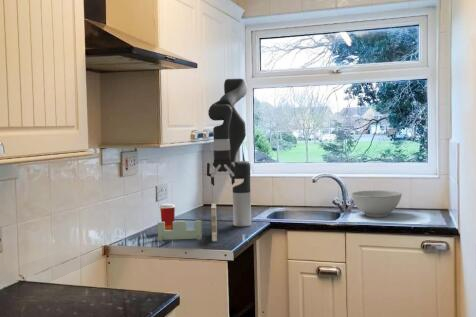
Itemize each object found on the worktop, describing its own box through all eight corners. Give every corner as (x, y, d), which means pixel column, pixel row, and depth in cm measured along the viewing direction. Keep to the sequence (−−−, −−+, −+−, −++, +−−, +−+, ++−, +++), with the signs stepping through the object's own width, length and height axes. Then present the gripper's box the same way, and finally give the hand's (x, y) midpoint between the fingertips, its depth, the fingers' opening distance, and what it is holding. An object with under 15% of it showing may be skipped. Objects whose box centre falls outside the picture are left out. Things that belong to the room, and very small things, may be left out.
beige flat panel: (212, 234, 248) (211, 202, 247) (217, 233, 248) (216, 202, 247) (212, 241, 232) (211, 208, 231) (216, 241, 232) (215, 207, 231)
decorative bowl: (410, 214, 287) (410, 192, 286) (387, 221, 268) (386, 198, 267) (367, 209, 306) (366, 189, 305) (342, 216, 286) (342, 194, 286)
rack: (159, 237, 243) (158, 220, 243) (202, 236, 244) (201, 219, 244) (157, 241, 235) (156, 223, 235) (201, 239, 236) (200, 222, 236)
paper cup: (170, 230, 260) (169, 202, 259) (179, 232, 254) (178, 204, 253) (157, 232, 255) (156, 204, 254) (165, 235, 249) (164, 206, 248)
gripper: (237, 148, 237) (238, 183, 238) (205, 149, 236) (207, 184, 238) (238, 149, 230) (239, 185, 231) (205, 150, 229) (207, 186, 230)
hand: (222, 185), depth 234 cm, fingers open, 8 cm apart
